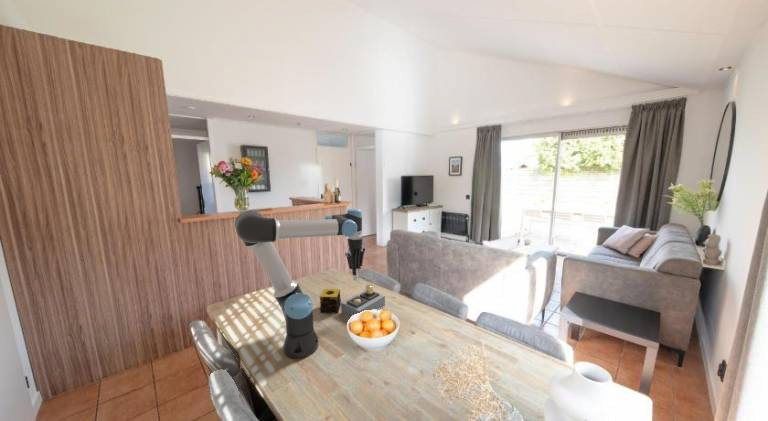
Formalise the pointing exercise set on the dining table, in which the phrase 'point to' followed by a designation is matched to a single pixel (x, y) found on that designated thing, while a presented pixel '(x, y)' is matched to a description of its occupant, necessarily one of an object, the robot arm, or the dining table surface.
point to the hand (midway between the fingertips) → (356, 280)
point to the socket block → (362, 303)
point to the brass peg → (369, 290)
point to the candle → (330, 301)
